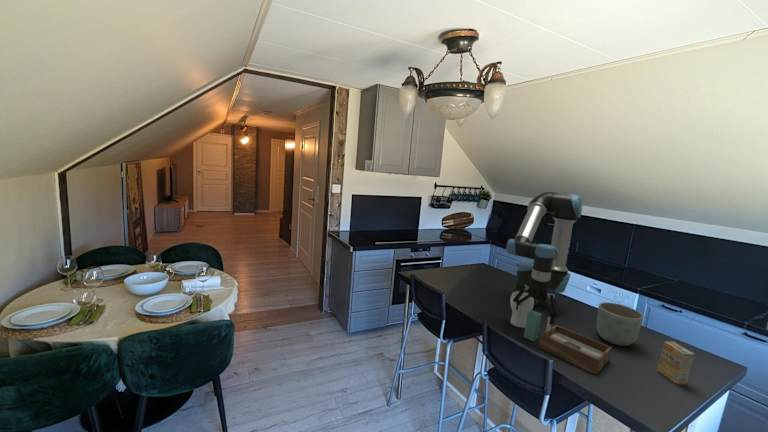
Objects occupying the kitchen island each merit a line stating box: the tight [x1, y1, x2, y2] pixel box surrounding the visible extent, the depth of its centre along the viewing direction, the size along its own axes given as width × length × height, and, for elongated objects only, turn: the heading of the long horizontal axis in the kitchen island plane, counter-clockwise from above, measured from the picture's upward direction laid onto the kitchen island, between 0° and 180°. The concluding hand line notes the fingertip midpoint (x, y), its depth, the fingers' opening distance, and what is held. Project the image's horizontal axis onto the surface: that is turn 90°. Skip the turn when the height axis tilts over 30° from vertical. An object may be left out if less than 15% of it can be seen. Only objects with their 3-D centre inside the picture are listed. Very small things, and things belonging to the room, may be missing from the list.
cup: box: [509, 292, 535, 329], centre depth 160 cm, size 11×11×15 cm
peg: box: [523, 309, 543, 342], centre depth 148 cm, size 4×4×12 cm
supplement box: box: [656, 341, 695, 385], centre depth 125 cm, size 8×5×13 cm, turn 5°
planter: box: [596, 301, 645, 347], centre depth 151 cm, size 17×17×15 cm
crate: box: [538, 324, 613, 375], centre depth 138 cm, size 16×22×6 cm
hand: (532, 323), depth 147 cm, fingers open, 13 cm apart
